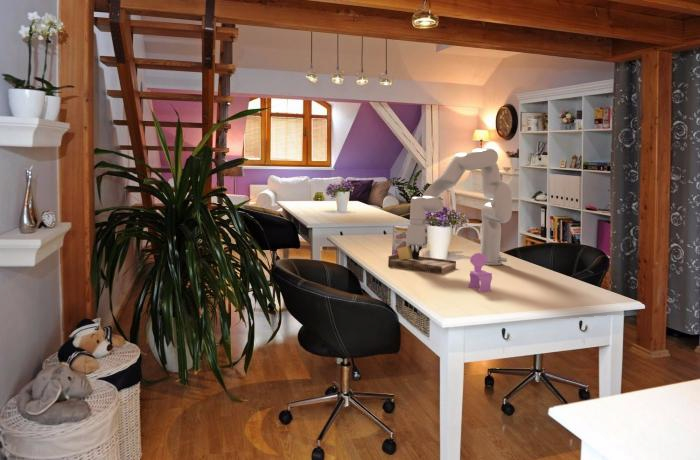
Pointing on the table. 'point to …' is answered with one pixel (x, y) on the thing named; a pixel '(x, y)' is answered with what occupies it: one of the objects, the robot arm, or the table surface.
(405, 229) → the candy bar box
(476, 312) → the table surface
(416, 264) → the brown wooden tray
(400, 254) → the block
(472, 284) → the toy chair
